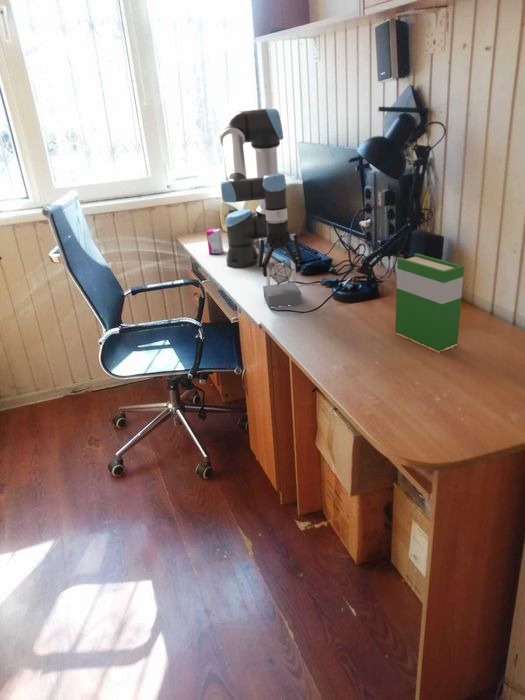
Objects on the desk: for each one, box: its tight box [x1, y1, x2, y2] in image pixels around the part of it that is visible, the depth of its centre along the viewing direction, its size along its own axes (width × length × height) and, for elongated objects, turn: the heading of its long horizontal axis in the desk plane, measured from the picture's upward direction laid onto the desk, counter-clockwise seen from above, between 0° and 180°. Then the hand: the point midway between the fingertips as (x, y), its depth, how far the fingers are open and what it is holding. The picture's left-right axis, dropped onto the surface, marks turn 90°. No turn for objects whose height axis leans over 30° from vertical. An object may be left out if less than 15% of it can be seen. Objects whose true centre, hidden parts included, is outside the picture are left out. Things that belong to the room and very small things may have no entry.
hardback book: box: [394, 253, 465, 351], centre depth 157 cm, size 18×7×24 cm, turn 30°
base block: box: [262, 281, 303, 309], centre depth 200 cm, size 12×12×5 cm
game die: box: [269, 259, 294, 286], centre depth 196 cm, size 9×8×10 cm
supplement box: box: [206, 228, 224, 255], centre depth 266 cm, size 6×6×12 cm
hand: (281, 282), depth 198 cm, fingers closed on game die, 9 cm apart
